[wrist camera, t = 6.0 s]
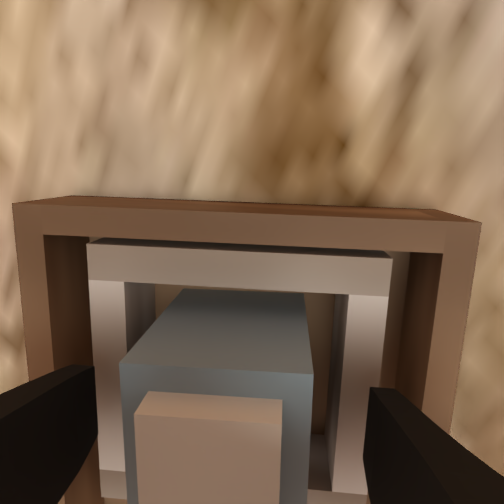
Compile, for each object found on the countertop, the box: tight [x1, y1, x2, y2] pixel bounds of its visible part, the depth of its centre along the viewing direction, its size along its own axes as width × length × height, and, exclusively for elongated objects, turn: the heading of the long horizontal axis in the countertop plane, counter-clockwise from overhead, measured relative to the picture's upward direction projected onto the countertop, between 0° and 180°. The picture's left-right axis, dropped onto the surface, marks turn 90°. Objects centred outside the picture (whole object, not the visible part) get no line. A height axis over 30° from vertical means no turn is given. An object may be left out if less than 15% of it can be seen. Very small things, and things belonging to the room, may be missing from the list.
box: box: [12, 196, 482, 504], centre depth 13 cm, size 16×12×3 cm
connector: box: [119, 288, 314, 504], centre depth 11 cm, size 4×4×6 cm
